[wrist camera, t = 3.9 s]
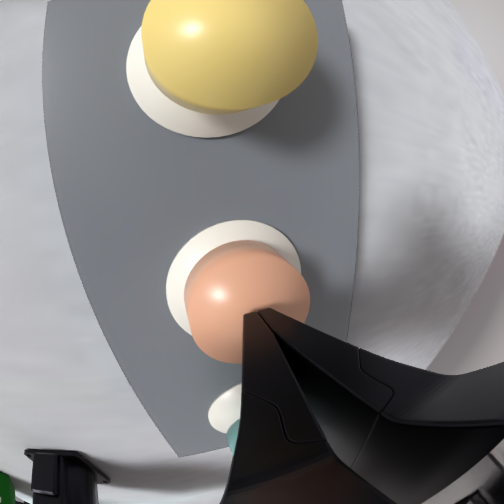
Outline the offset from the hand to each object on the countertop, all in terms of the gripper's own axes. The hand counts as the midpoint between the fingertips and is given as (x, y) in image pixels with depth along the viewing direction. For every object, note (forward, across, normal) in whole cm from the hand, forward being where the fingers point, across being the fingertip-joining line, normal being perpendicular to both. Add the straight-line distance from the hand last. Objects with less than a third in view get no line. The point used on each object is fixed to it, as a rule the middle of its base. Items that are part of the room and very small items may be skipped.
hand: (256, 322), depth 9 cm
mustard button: (+1, 0, -8) cm, 8 cm away
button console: (+5, 0, 0) cm, 5 cm away
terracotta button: (+2, 0, 0) cm, 2 cm away
